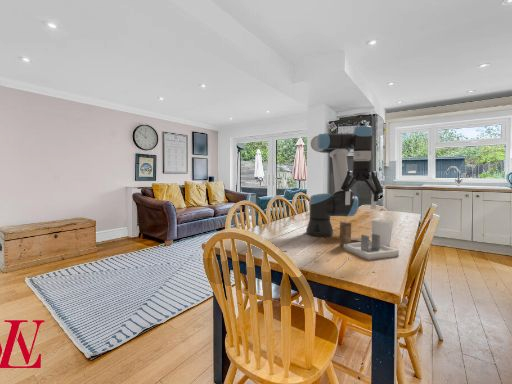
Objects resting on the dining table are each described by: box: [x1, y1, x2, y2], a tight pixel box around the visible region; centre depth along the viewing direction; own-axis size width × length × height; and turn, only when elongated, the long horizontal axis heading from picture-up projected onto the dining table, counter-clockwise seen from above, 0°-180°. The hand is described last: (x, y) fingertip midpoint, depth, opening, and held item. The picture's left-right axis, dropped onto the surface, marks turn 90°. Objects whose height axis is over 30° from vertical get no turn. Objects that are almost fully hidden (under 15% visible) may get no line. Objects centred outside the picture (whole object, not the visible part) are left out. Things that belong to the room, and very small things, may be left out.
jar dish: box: [343, 233, 400, 261], centre depth 117 cm, size 16×16×8 cm
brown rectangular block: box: [338, 220, 352, 248], centre depth 126 cm, size 5×2×12 cm, turn 19°
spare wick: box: [351, 236, 371, 243], centre depth 133 cm, size 12×5×2 cm, turn 48°
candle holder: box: [370, 218, 394, 247], centre depth 132 cm, size 10×10×12 cm
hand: (359, 206), depth 122 cm, fingers open, 13 cm apart
